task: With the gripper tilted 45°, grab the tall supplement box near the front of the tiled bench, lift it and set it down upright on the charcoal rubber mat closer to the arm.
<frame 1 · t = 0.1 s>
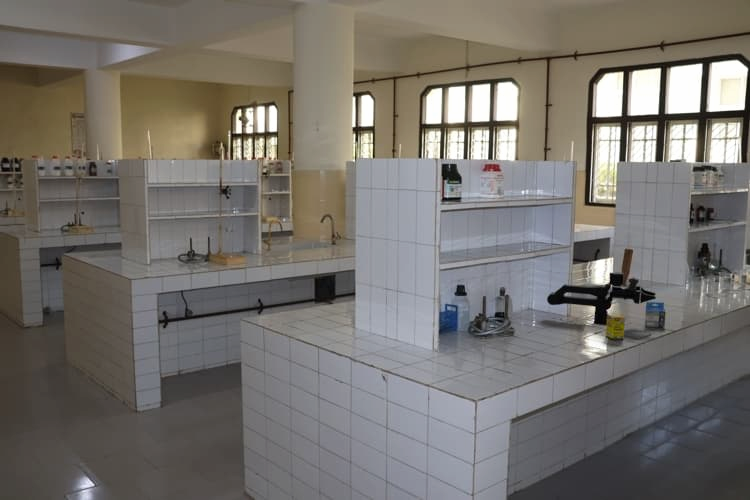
hand: (655, 295, 337), 17 cm above the table, fingers open, 9 cm apart
supplement box: (614, 338, 318), on the table
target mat: (632, 334, 325), on the table
label tape box: (654, 326, 343), on the table
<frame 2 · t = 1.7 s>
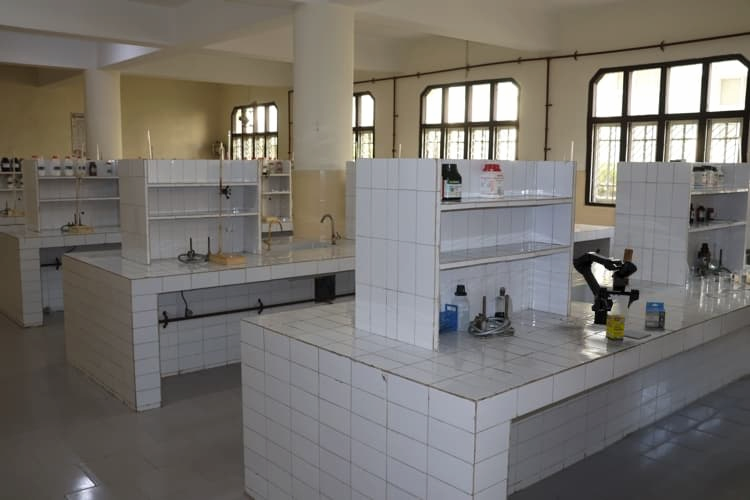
hand: (617, 307, 324), 13 cm above the table, fingers open, 9 cm apart
nothing on the table moved.
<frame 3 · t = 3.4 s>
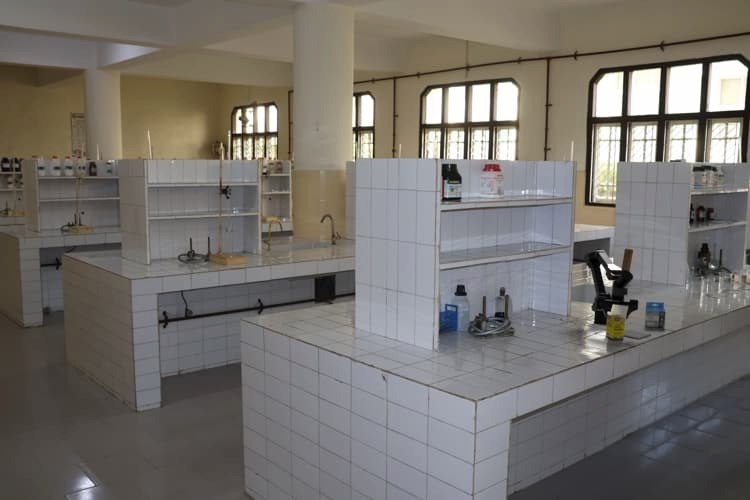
hand: (616, 317, 319), 9 cm above the table, fingers open, 9 cm apart
nothing on the table moved.
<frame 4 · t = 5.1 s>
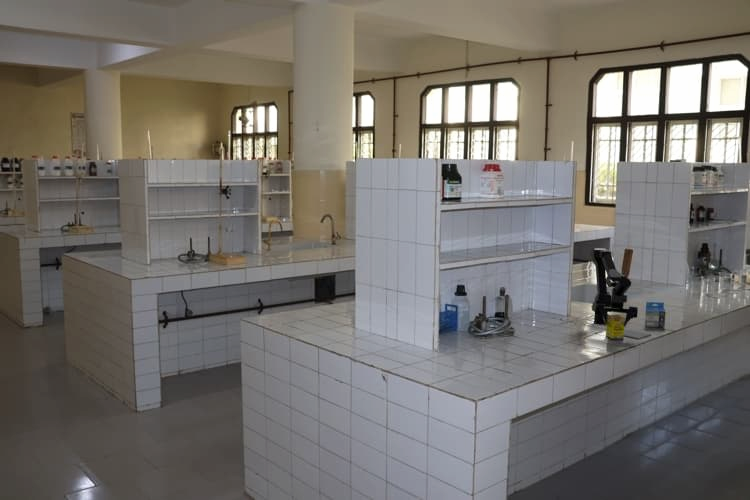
hand: (615, 325, 316), 7 cm above the table, fingers closed on supplement box, 8 cm apart
supplement box: (614, 338, 318), on the table, touching gripper
everything else where it was.
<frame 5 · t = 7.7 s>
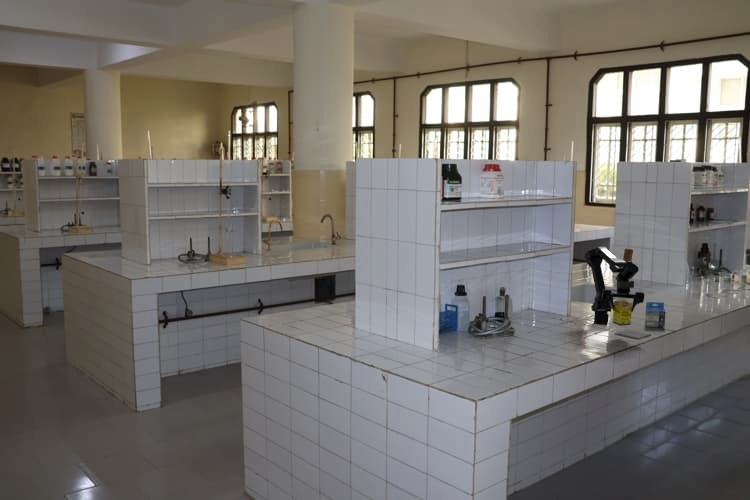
hand: (622, 311, 317), 13 cm above the table, fingers closed on supplement box, 8 cm apart
supplement box: (621, 324, 319), point 6 cm above the table, touching gripper
everything else where it was.
when the fingers open (9 cm above the table, at t = 10.3 s): supplement box drops 1 cm, resting on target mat.
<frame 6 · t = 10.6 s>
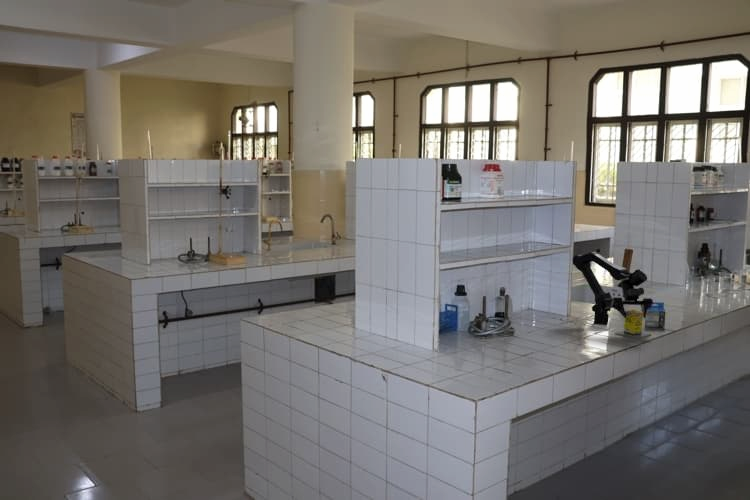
hand: (635, 317, 323), 9 cm above the table, fingers open, 9 cm apart
supplement box: (632, 333, 325), resting on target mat
everything else where it was.
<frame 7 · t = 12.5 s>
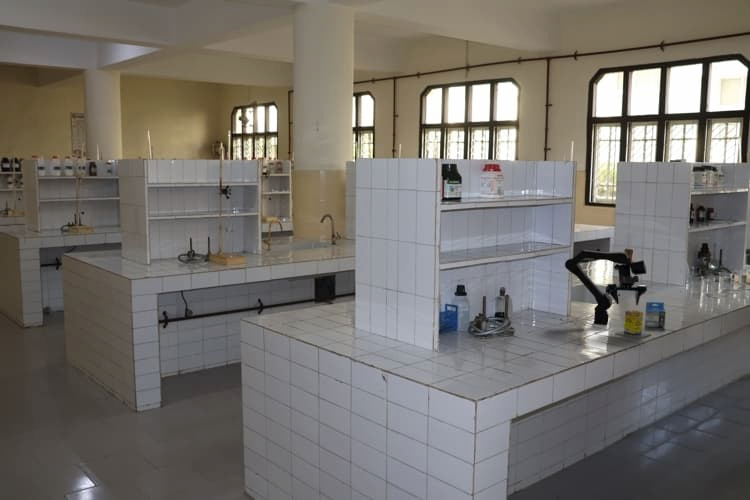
hand: (627, 304, 332), 13 cm above the table, fingers open, 9 cm apart
nothing on the table moved.
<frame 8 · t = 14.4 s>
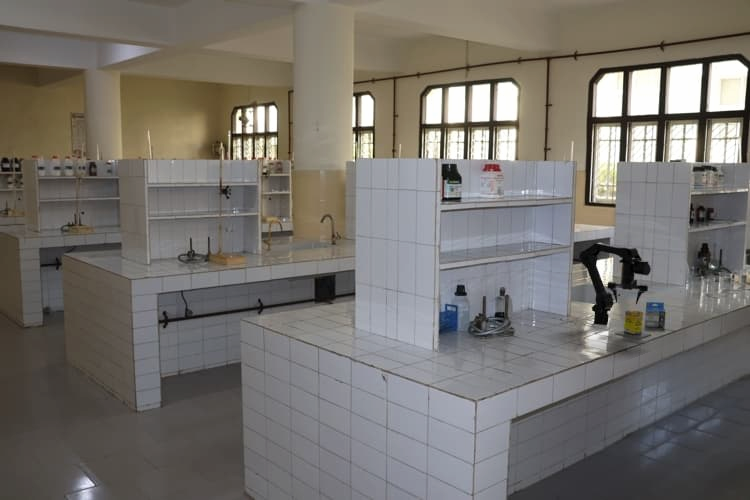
hand: (626, 303, 335), 13 cm above the table, fingers open, 9 cm apart
nothing on the table moved.
at the end: supplement box inside the target area on the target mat (0.1 cm from its centre), point 0.4 cm above the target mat's base; supplement box tilted 0°; the gripper is holding nothing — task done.
